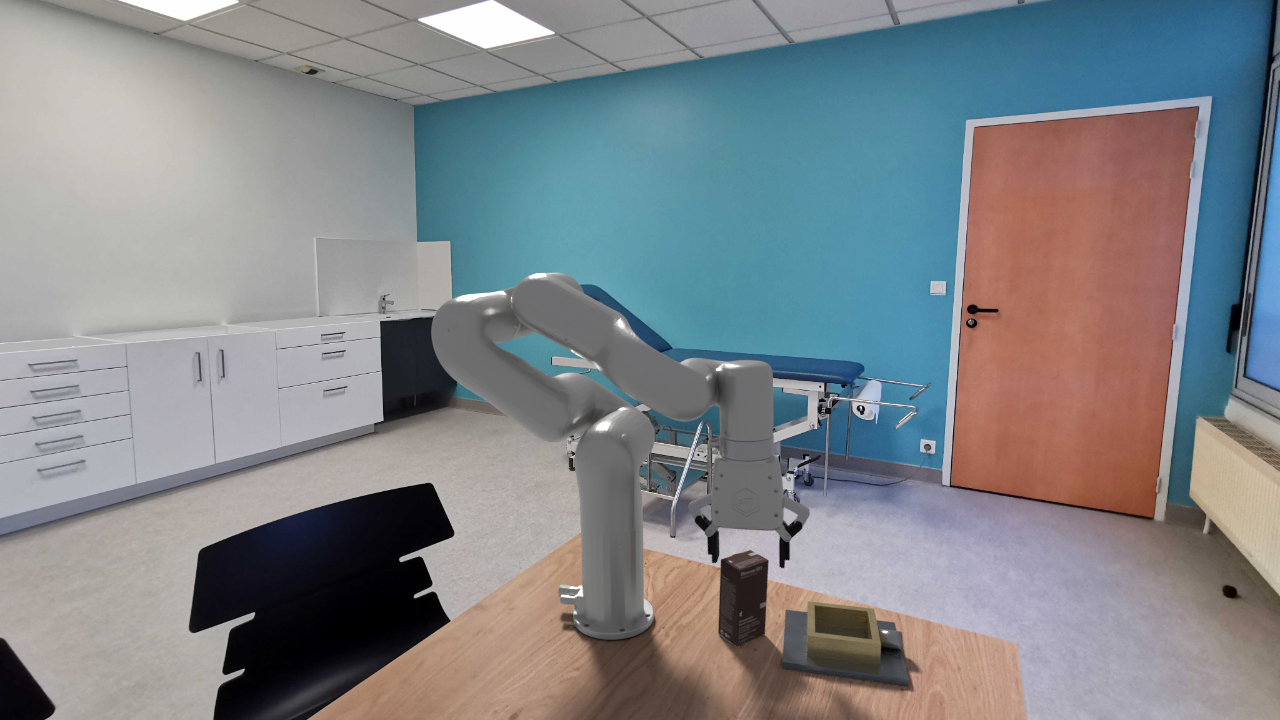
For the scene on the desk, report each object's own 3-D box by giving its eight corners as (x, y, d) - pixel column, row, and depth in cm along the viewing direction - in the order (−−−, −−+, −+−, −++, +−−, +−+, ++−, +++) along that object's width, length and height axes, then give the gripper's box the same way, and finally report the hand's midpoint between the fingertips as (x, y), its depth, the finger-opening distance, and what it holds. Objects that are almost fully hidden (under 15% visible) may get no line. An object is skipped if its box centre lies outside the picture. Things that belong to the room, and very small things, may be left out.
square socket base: (782, 668, 89) (782, 641, 88) (785, 615, 102) (786, 591, 102) (907, 686, 85) (909, 657, 84) (894, 628, 98) (895, 603, 98)
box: (737, 649, 93) (738, 569, 92) (717, 634, 97) (718, 558, 95) (768, 635, 97) (770, 558, 95) (747, 622, 100) (748, 548, 99)
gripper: (682, 453, 91) (685, 568, 94) (809, 457, 87) (810, 578, 89) (691, 439, 99) (694, 547, 101) (809, 442, 94) (809, 555, 97)
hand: (748, 561), depth 95 cm, fingers open, 9 cm apart
